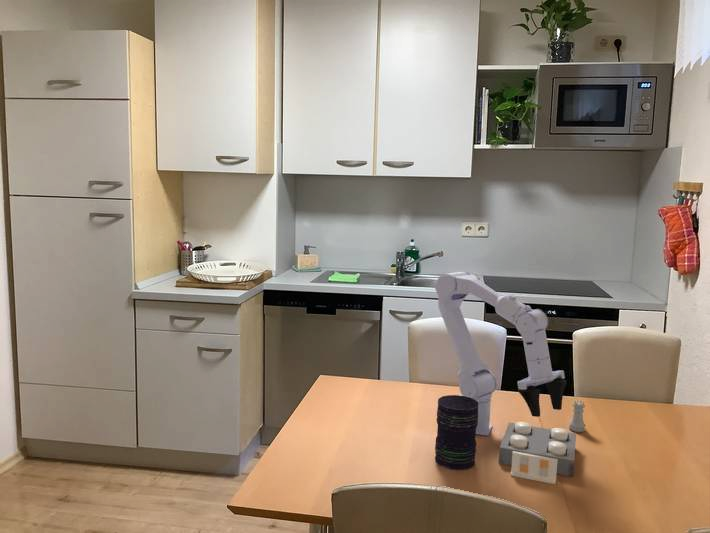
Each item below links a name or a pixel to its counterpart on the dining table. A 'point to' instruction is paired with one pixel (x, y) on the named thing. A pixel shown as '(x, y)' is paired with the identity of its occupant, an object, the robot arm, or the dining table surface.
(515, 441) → the button front left
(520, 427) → the button back left
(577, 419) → the rook chess piece
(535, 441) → the button board
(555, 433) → the button back right
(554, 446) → the button front right
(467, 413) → the storage jar
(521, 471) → the pattern card
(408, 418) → the dining table surface
